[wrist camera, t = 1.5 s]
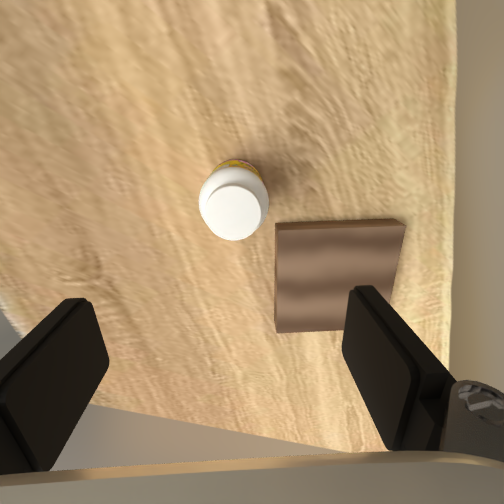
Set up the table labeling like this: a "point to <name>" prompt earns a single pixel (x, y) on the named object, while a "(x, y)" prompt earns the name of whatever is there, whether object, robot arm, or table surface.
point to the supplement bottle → (234, 200)
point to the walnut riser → (330, 269)
